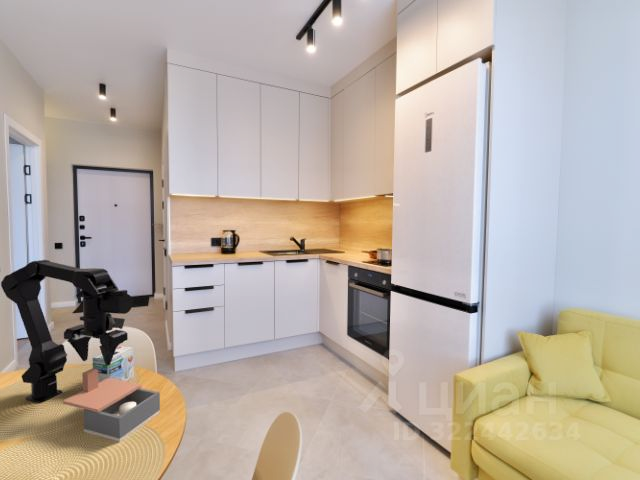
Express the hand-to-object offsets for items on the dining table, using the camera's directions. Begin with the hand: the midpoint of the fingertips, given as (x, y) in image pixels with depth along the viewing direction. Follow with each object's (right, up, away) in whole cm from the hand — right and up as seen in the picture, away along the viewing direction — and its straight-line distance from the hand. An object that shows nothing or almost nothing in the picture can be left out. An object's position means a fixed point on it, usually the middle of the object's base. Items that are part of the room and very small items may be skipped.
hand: (96, 362), depth 97 cm
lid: (+7, -6, -7) cm, 12 cm away
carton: (+14, -13, -9) cm, 21 cm away
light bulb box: (-2, -12, +12) cm, 17 cm away
